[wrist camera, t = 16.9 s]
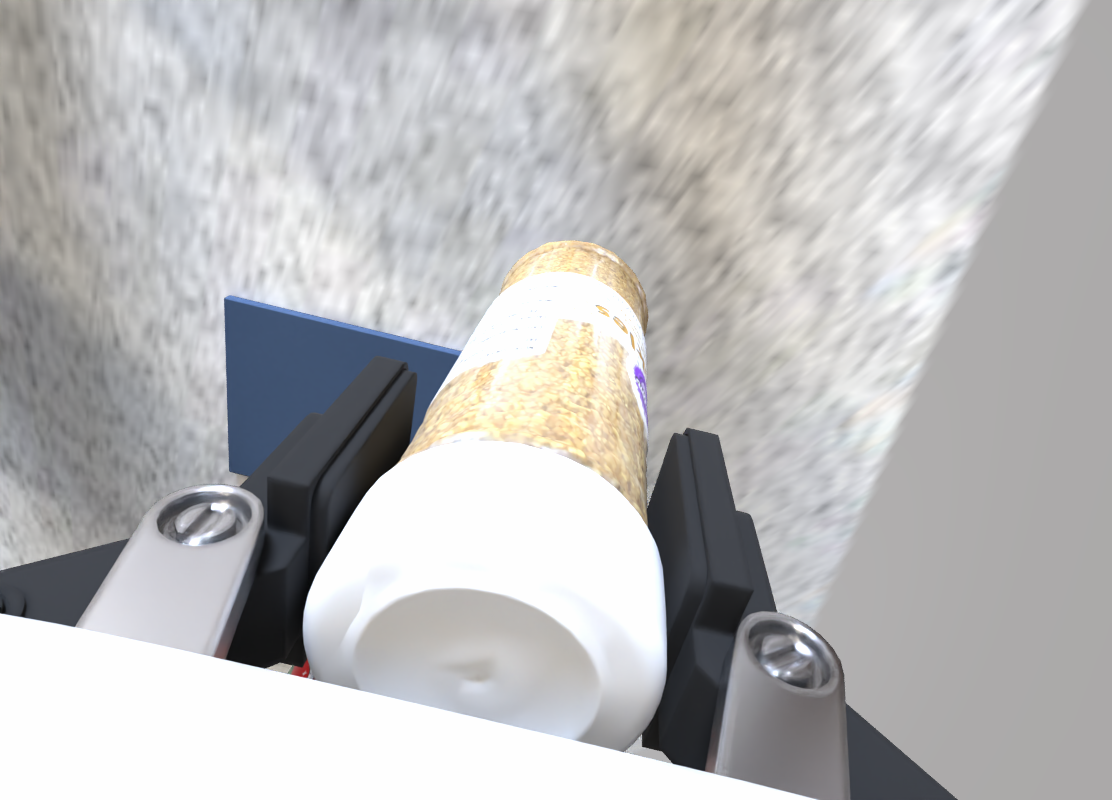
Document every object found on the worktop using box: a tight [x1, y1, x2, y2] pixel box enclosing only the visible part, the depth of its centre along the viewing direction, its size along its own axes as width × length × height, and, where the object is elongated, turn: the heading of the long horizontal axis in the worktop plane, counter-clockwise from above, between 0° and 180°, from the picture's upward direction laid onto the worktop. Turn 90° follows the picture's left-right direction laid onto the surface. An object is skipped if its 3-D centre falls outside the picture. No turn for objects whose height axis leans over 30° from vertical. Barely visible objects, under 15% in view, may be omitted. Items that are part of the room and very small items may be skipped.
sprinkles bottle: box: [303, 241, 667, 752], centre depth 14 cm, size 5×5×14 cm
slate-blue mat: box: [224, 295, 461, 476], centre depth 33 cm, size 18×10×1 cm, turn 78°
